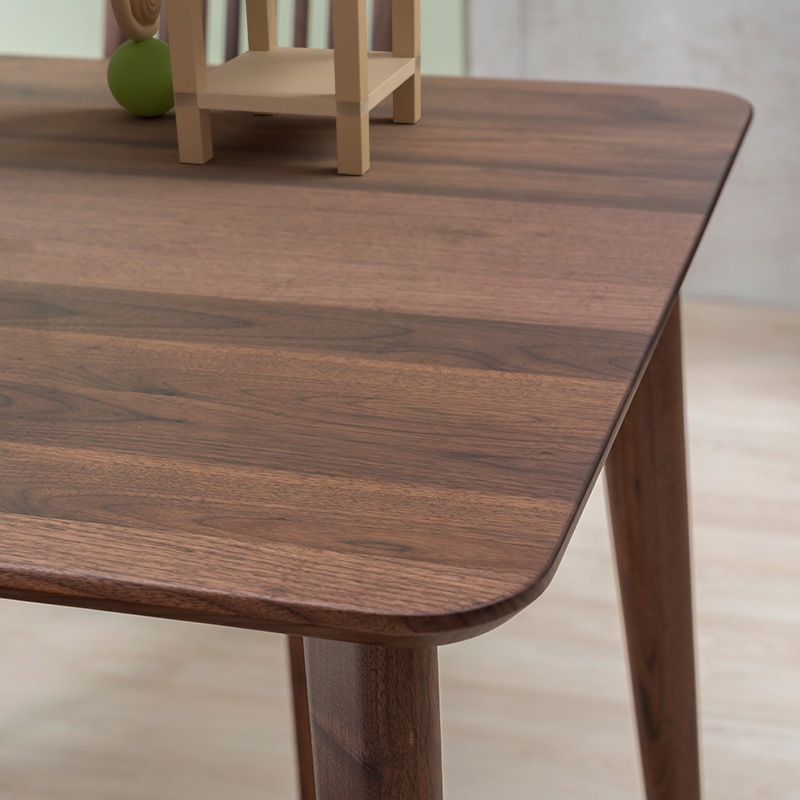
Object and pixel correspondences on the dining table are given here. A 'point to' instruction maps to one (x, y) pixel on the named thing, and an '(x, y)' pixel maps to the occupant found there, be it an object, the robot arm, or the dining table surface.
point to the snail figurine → (141, 60)
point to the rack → (296, 76)
